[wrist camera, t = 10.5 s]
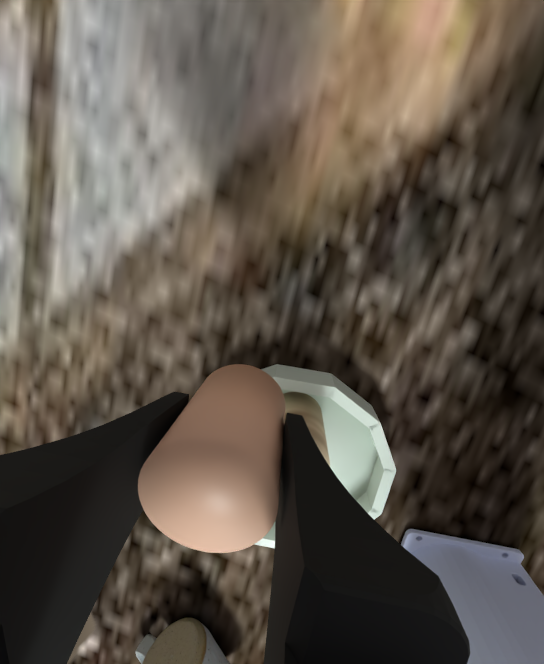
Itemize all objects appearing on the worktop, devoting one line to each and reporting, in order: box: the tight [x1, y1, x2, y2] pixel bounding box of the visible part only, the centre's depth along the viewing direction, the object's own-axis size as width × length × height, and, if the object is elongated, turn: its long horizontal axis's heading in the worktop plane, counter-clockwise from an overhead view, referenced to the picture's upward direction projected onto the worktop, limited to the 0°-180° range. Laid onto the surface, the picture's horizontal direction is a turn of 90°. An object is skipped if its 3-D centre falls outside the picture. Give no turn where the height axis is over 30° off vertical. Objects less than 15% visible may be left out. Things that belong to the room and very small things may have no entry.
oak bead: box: [283, 392, 330, 466], centre depth 18 cm, size 4×4×5 cm
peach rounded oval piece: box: [138, 364, 286, 553], centre depth 10 cm, size 4×4×5 cm
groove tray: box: [255, 364, 396, 548], centre depth 21 cm, size 15×15×2 cm
